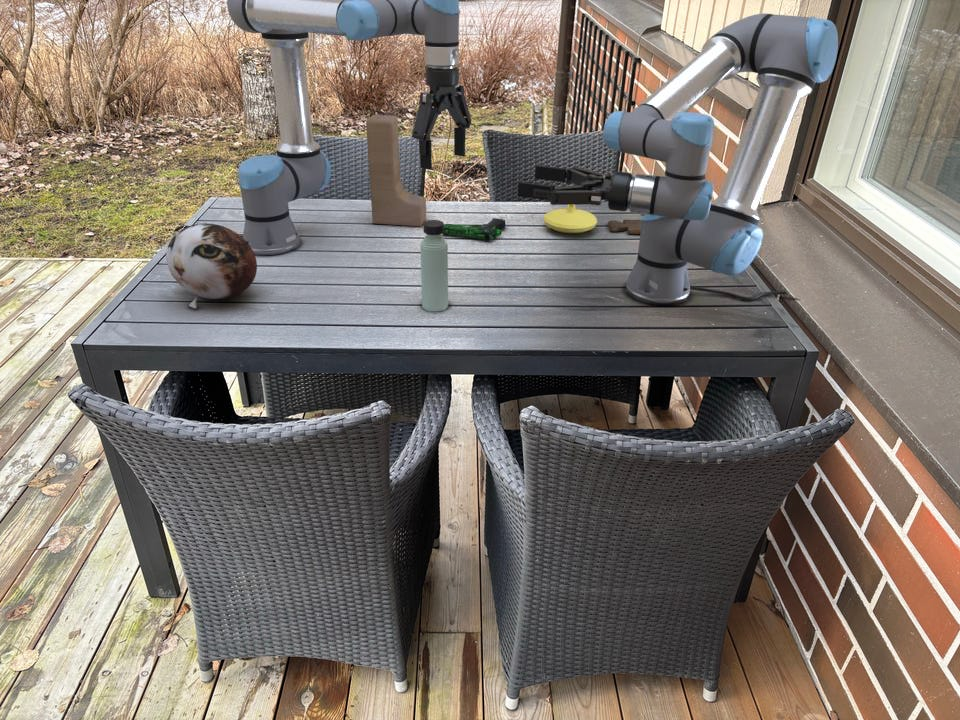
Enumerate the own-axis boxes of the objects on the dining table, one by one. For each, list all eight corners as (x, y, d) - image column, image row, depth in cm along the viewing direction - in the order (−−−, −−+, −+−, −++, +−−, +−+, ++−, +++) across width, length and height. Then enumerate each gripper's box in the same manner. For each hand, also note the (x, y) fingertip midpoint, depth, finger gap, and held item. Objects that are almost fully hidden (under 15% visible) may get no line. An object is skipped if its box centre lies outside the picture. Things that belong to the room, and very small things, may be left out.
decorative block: (421, 227, 210) (418, 122, 195) (372, 224, 212) (365, 119, 197) (426, 218, 217) (424, 116, 201) (378, 215, 218) (372, 114, 203)
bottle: (446, 312, 164) (445, 230, 154) (420, 311, 164) (417, 229, 154) (449, 300, 169) (448, 220, 159) (423, 299, 169) (421, 219, 159)
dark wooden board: (699, 237, 207) (691, 225, 216) (700, 231, 206) (692, 220, 215) (610, 234, 207) (606, 222, 216) (611, 228, 207) (607, 217, 215)
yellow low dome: (559, 216, 220) (561, 193, 217) (605, 227, 212) (608, 204, 209) (532, 230, 209) (533, 207, 206) (580, 242, 201) (582, 218, 198)
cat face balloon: (130, 285, 161) (164, 203, 163) (192, 308, 177) (221, 233, 178) (195, 307, 151) (229, 220, 152) (254, 330, 166) (285, 250, 168)
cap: (442, 235, 155) (442, 227, 154) (422, 234, 155) (421, 226, 154) (444, 228, 159) (444, 220, 158) (424, 227, 159) (424, 219, 158)
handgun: (511, 219, 210) (493, 234, 198) (511, 228, 211) (492, 244, 199) (461, 212, 215) (440, 226, 203) (461, 221, 217) (440, 236, 204)
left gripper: (421, 75, 148) (424, 176, 159) (486, 61, 166) (485, 153, 177) (393, 71, 151) (397, 171, 162) (460, 58, 169) (460, 148, 180)
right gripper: (618, 230, 133) (509, 215, 138) (636, 194, 153) (540, 182, 159) (624, 191, 129) (511, 177, 135) (641, 159, 150) (543, 148, 155)
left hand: (443, 161), depth 169 cm, fingers open, 13 cm apart
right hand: (527, 180), depth 147 cm, fingers open, 13 cm apart
